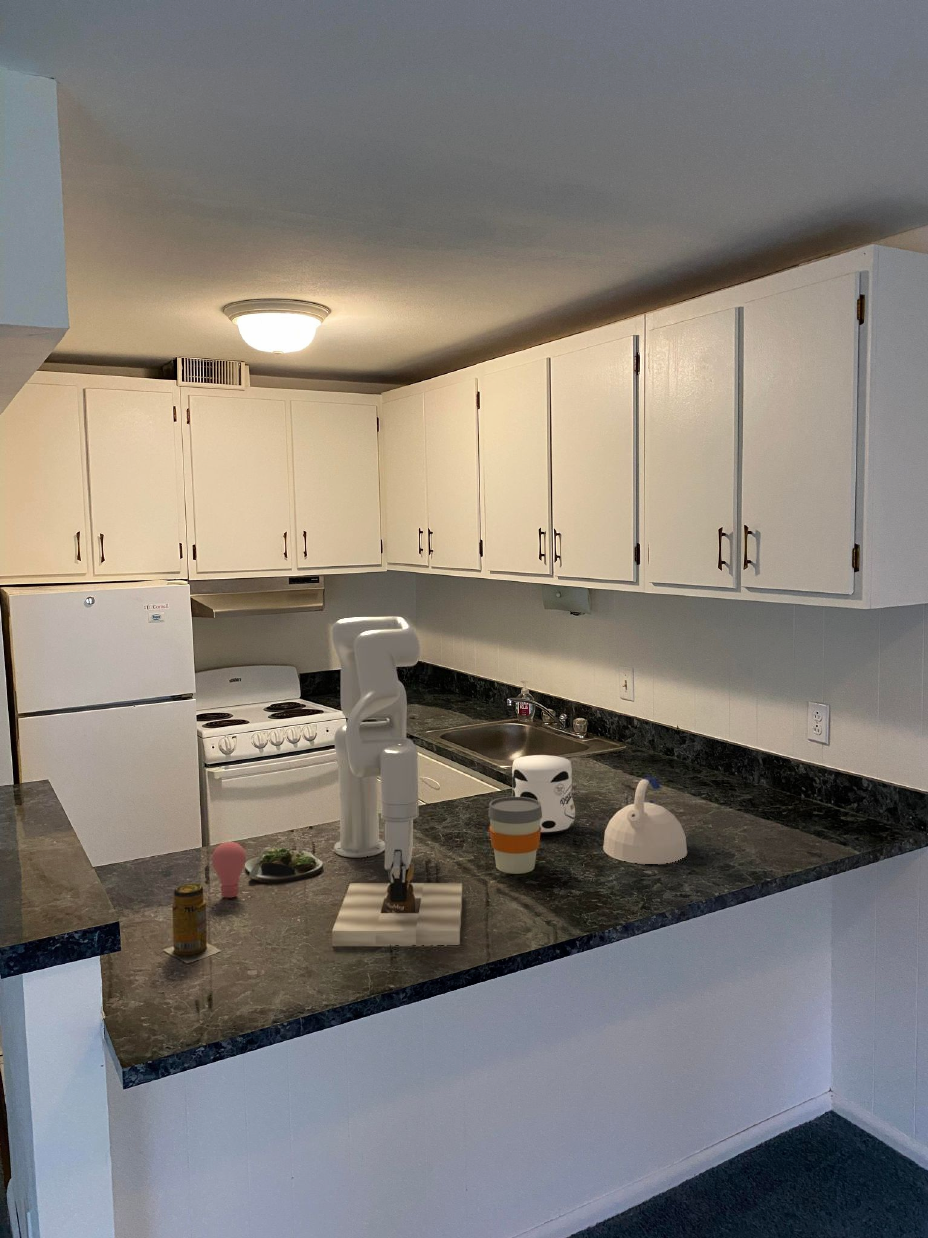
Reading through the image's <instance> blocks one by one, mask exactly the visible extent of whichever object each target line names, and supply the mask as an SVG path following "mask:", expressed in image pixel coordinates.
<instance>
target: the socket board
mask: <svg viewBox="0 0 928 1238" xmlns="http://www.w3.org/2000/svg"><path fill="white" fill-rule="evenodd" d="M410 884H412V886H413V894H414V896H415V913H386V897H387V895H388V892H387V889H388V886H389V885H390V882H380V883H379V882H377V883H376V882H374V883H373V882H371V883H370V882H369V883H368V882H366V883H365V882H364V883H363V882H361V883H360V882H357V883H356V882H350V883H349V886H348V888H347V891H346V892H345V896H344V898H343V902H342V904H341V906H340V909H339V911H338V914H337V917H336V919H335V922H334V925H333V927H332V931H331V943H332V944H331V945H332V947H396V946H395V945H399V946H398V947H413V946H412V945H416V946H415V947H438V946H437V945H444V946H443V947H448V946H447V945H459V944H460V942H461V941H460V940H461V926H462V925H461V924H462V906H463V883H462V882H410ZM390 945H391V946H390ZM422 945H424V946H422ZM431 945H433V946H431ZM460 945H461V944H460ZM460 945H459V946H460Z"/></svg>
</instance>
